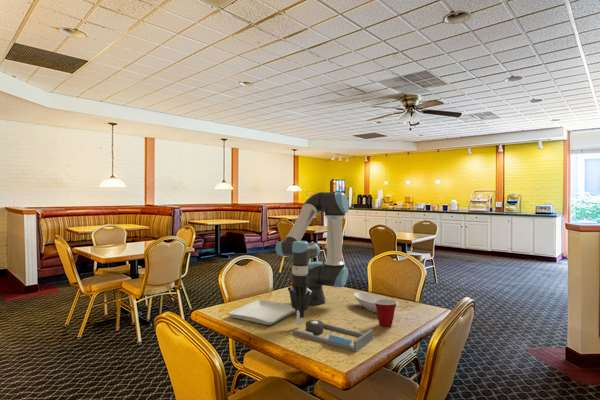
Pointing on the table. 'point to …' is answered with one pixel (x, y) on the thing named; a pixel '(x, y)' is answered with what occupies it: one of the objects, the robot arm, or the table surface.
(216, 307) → the table surface
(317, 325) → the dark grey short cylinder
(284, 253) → the robot arm
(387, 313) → the plastic cup
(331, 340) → the gray u-shaped frame
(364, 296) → the bowl
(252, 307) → the square plate
